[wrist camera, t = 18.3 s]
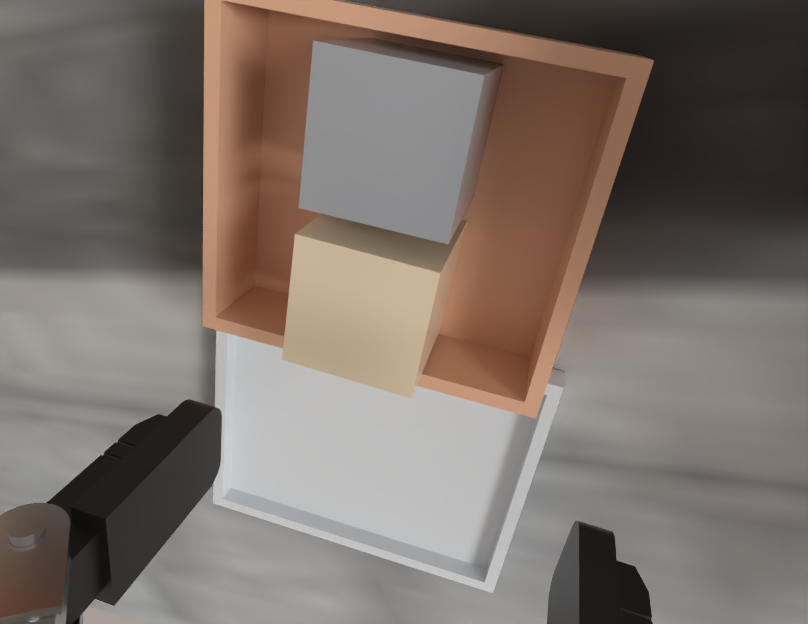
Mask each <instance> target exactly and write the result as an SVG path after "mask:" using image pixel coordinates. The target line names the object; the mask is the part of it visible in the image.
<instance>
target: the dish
mask: <svg viewBox="0 0 808 624" xmlns="http://www.w3.org/2000/svg"><path fill="white" fill-rule="evenodd" d="M361 38H375V39H380V40H385V41H390V42H395V43H400V44H405V45H410V46H415V47H420V48H425V49H430V50H435V51H440V52H445V53H450V54H455V55H460V56H465V57H470V58H475V59H480V60H485V61H490V62H495V63H500V64H504V66H503V71H502V75H501V80H500V84H499V88H498V93H497V97H496V102H495V106H494V110H493V115H492V119H491V124H490V128H489V132H488V137H487V141H486V146H485V150H484V154H483V159H482V163H481V168H480V172H479V177H478V181H477V185H476V190H475V194H474V198H473V200H472V202H471V203H470V205H469V207H468V209H467V211H466V213H465V214H464V216H463V218H462V220H466V221H467V224H466V228H465V232H464V236H463V240H462V244H461V248H460V252H459V256H458V261H457V265H456V269H455V273H454V277H453V281H452V285H451V289H450V293H449V297H448V301H447V306H446V310H445V314H444V318H443V322H442V326H441V328H440V331H439V333H438V336H437V338H436V341H435V343H434V345H433V348H432V350H431V353H430V355H429V357H428V360H427V362H426V365H425V367H424V369H423V372H422V374H421V377H420V379H419V382H418V384H417V386H420V387H423V388H427V389H430V390H434V391H438V392H441V393H445V394H448V395H452V396H456V397H459V398H463V399H467V400H470V401H474V402H477V403H481V404H485V405H488V406H492V407H495V408H499V409H503V410H506V411H510V412H513V413H517V414H521V415H524V416H528V417H531V418H535V419H536V417H537V414H538V411H539V408H540V405H541V402H542V399H543V396H544V393H545V390H546V387H547V384H548V381H549V378H550V374H551V371H552V368H553V365H554V362H555V359H556V356H557V353H558V350H559V347H560V344H561V341H562V338H563V335H564V332H565V329H566V326H567V323H568V320H569V317H570V314H571V311H572V308H573V305H574V302H575V299H576V296H577V293H578V290H579V287H580V284H581V281H582V278H583V275H584V272H585V268H586V265H587V262H588V259H589V256H590V253H591V250H592V247H593V244H594V241H595V238H596V235H597V232H598V229H599V226H600V223H601V220H602V217H603V214H604V211H605V208H606V205H607V202H608V199H609V196H610V193H611V190H612V187H613V184H614V181H615V178H616V175H617V172H618V169H619V166H620V163H621V159H622V156H623V153H624V150H625V147H626V144H627V141H628V138H629V135H630V132H631V129H632V126H633V123H634V120H635V117H636V114H637V111H638V108H639V105H640V102H641V99H642V96H643V93H644V90H645V87H646V84H647V81H648V78H649V75H650V72H651V69H652V66H653V63H654V60H652V59H649V58H646V57H643V56H640V55H637V54H632V53H627V52H621V51H616V50H610V49H605V48H600V47H594V46H589V45H584V44H578V43H573V42H567V41H562V40H557V39H551V38H546V37H541V36H535V35H530V34H524V33H519V32H514V31H508V30H503V29H498V28H492V27H487V26H481V25H476V24H471V23H465V22H460V21H455V20H449V19H444V18H438V17H433V16H428V15H422V14H417V13H412V12H406V11H401V10H395V9H390V8H385V7H379V6H374V5H369V4H363V3H358V2H353V1H347V0H204V157H203V314H202V326H203V327H207V328H210V329H214V330H217V331H221V332H225V333H228V334H232V335H236V336H239V337H243V338H246V339H250V340H254V341H257V342H261V343H264V344H268V345H272V346H275V347H279V348H282V349H283V345H284V335H285V325H286V316H287V306H288V296H289V287H290V277H291V268H292V258H293V248H294V239H295V234H296V233H297V232H298V231H300V230H301V229H302V228H304V227H305V226H306V225H308V224H309V223H310V222H311V221H313V220H314V219H315V218H317V217H318V216H319V215H321V214H322V213H317V212H313V211H309V210H305V209H301V208H299V198H300V187H301V175H302V164H303V153H304V141H305V130H306V118H307V107H308V95H309V84H310V73H311V61H312V50H313V41H316V40H338V39H361Z"/></svg>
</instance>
